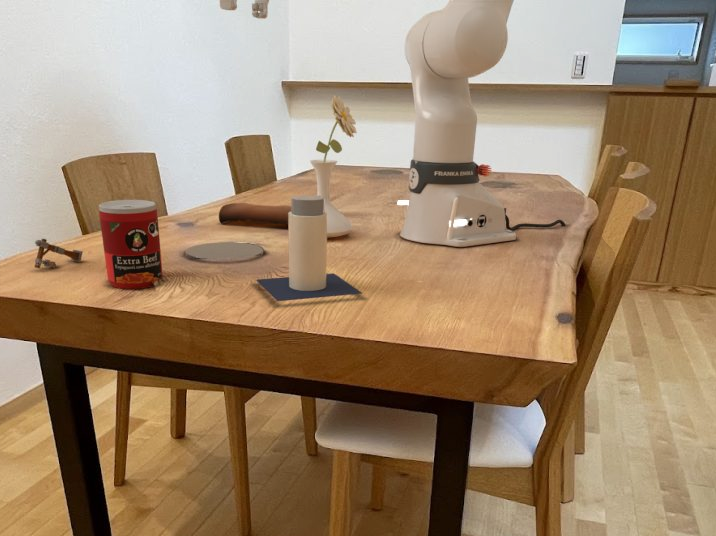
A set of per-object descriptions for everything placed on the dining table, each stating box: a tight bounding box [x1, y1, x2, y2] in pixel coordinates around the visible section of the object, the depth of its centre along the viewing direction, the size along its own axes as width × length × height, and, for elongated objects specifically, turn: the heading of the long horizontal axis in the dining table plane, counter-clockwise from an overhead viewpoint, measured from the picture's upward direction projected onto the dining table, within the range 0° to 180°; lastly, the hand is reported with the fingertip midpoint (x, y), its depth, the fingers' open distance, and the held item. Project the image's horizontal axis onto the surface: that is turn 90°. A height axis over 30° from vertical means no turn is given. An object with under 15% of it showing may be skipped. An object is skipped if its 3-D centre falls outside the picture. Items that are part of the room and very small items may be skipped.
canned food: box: [98, 199, 164, 290], centre depth 93 cm, size 8×8×11 cm
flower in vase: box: [309, 94, 357, 239], centre depth 123 cm, size 13×11×25 cm
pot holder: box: [255, 272, 363, 302], centre depth 92 cm, size 12×11×1 cm
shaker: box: [287, 194, 328, 291], centre depth 89 cm, size 5×5×12 cm
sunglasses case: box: [218, 202, 291, 225], centre depth 136 cm, size 18×7×7 cm, turn 73°
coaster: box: [185, 241, 264, 261], centre depth 112 cm, size 13×13×1 cm
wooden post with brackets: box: [34, 238, 83, 269], centre depth 102 cm, size 2×8×4 cm, turn 151°
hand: (244, 14), depth 91 cm, fingers open, 8 cm apart
